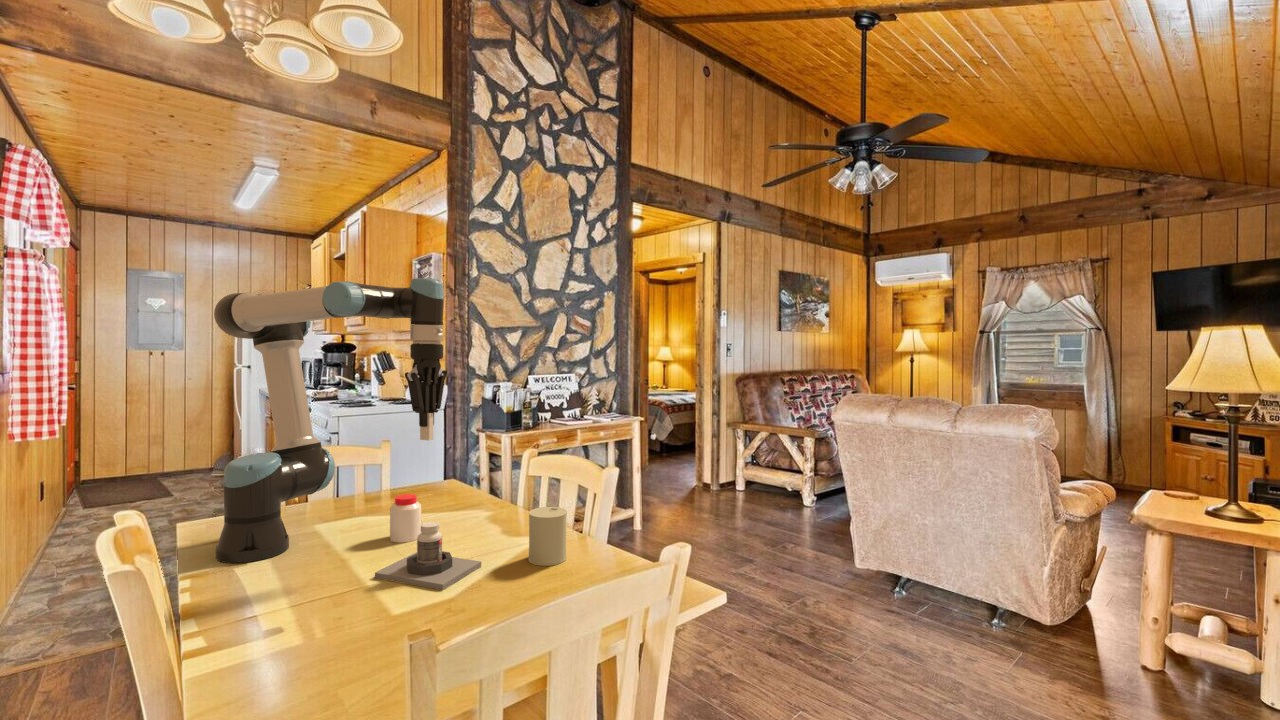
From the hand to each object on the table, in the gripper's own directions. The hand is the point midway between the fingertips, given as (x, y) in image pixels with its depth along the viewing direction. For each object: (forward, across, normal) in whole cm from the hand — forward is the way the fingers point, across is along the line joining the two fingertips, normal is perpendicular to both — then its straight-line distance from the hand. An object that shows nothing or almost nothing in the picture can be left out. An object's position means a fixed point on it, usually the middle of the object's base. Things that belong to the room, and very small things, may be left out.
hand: (426, 439), depth 145 cm
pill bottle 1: (+29, +8, +13) cm, 32 cm away
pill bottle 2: (+27, -9, -8) cm, 30 cm away
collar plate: (+28, -9, -8) cm, 31 cm away
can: (+29, +8, -29) cm, 41 cm away
